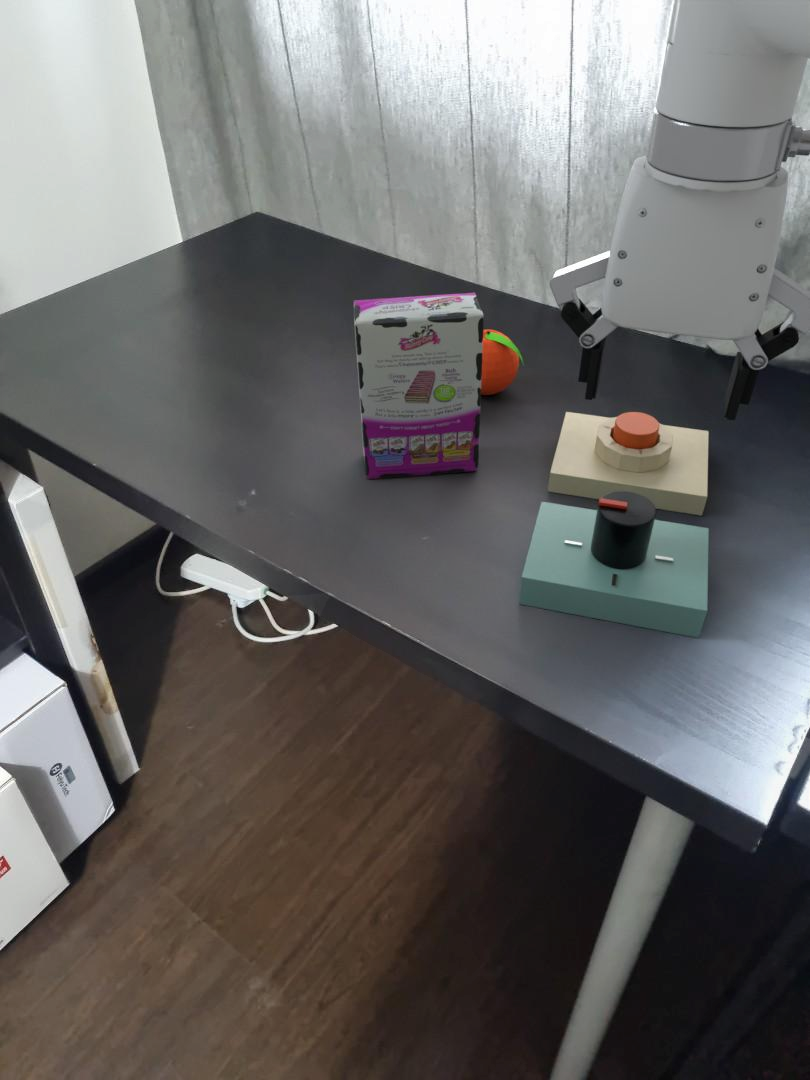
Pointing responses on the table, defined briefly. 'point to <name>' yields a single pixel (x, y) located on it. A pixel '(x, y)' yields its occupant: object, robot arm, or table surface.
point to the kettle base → (631, 464)
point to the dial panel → (617, 574)
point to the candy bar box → (419, 383)
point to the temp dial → (622, 529)
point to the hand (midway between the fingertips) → (659, 400)
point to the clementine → (498, 362)
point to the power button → (636, 430)
